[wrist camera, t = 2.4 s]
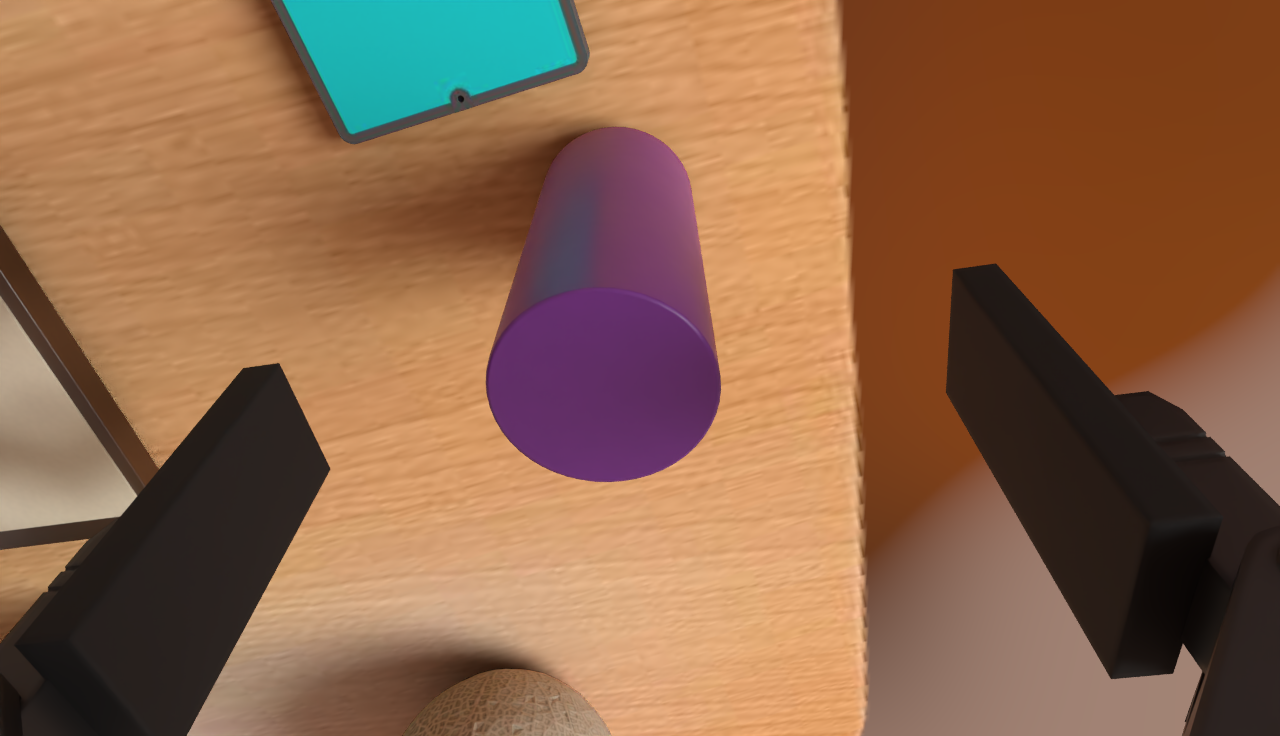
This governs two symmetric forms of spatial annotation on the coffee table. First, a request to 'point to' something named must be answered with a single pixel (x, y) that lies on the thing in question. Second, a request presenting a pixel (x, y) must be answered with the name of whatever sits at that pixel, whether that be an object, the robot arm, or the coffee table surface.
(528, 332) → the purple cylinder
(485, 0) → the smartphone
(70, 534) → the board
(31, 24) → the coffee table surface
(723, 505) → the coffee table surface
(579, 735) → the fruit
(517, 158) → the coffee table surface
